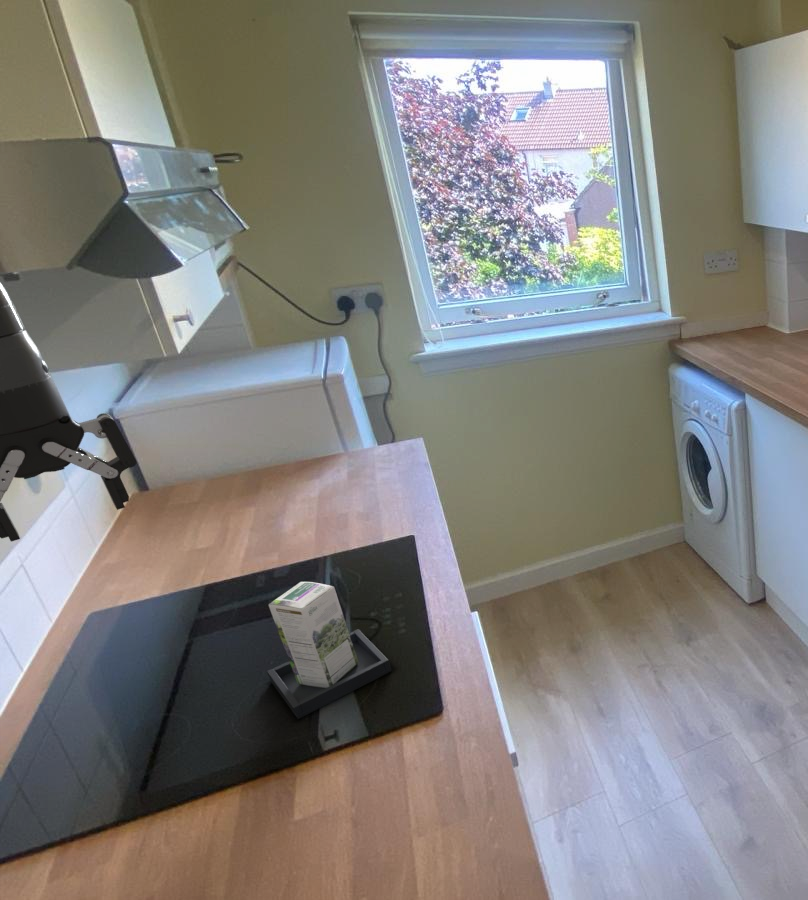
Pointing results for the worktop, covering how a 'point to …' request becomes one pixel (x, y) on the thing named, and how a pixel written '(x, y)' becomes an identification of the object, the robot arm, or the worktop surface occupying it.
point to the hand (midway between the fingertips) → (69, 522)
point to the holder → (313, 698)
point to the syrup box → (314, 634)
